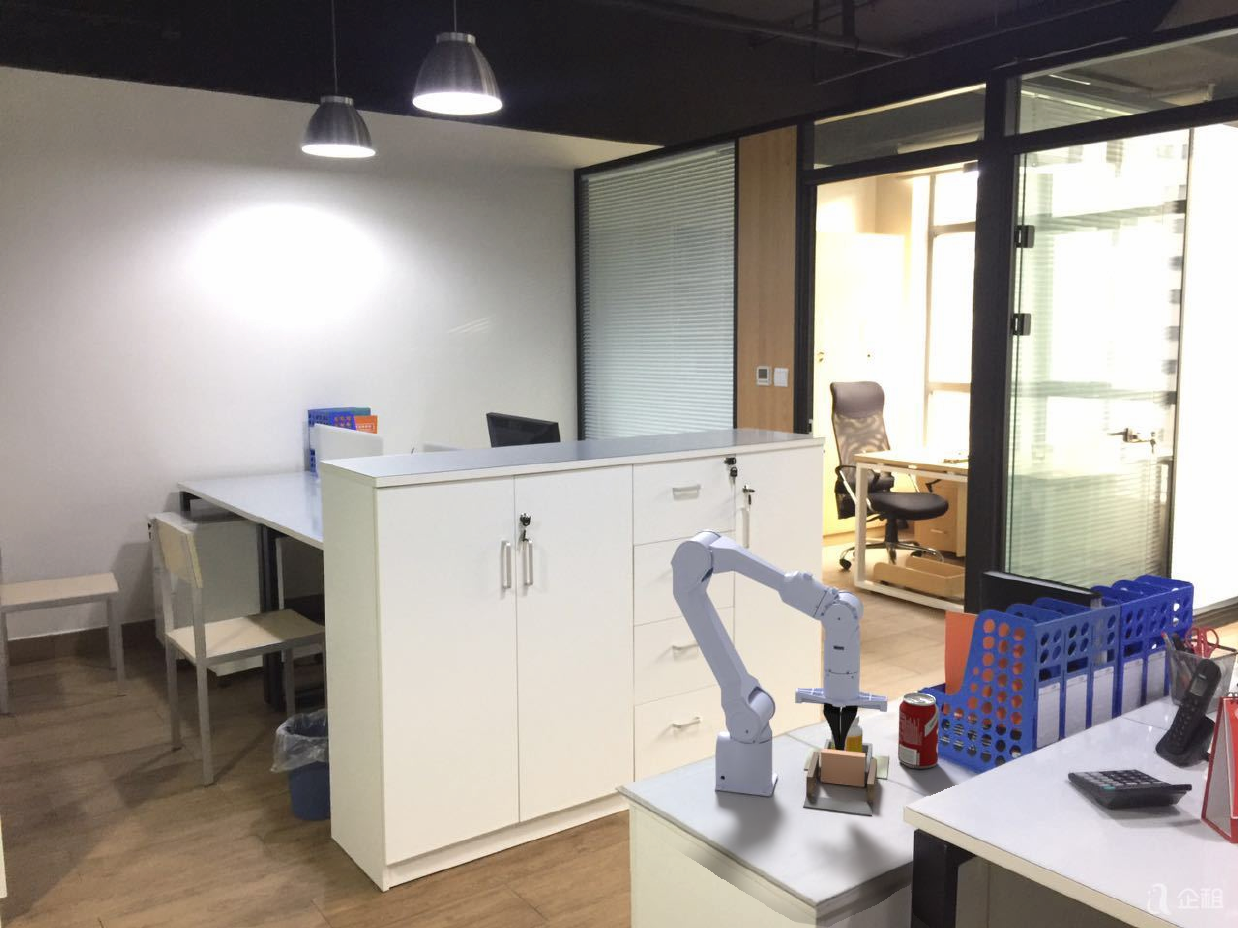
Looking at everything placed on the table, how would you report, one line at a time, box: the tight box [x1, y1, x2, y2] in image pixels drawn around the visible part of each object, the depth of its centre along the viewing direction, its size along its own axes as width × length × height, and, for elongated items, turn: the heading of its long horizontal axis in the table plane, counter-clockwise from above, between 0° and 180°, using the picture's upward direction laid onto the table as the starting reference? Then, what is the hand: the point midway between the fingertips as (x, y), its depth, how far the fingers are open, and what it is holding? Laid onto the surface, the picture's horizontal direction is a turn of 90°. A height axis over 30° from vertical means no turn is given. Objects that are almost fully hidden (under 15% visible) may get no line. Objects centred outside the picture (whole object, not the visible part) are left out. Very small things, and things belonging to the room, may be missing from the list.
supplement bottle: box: [830, 712, 864, 753], centre depth 179 cm, size 5×5×10 cm
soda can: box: [897, 692, 940, 770], centre depth 180 cm, size 7×7×12 cm
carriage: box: [818, 738, 873, 788], centre depth 178 cm, size 8×14×5 cm, turn 163°
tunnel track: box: [802, 747, 890, 817], centre depth 174 cm, size 14×23×4 cm, turn 163°
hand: (840, 747), depth 166 cm, fingers closed
